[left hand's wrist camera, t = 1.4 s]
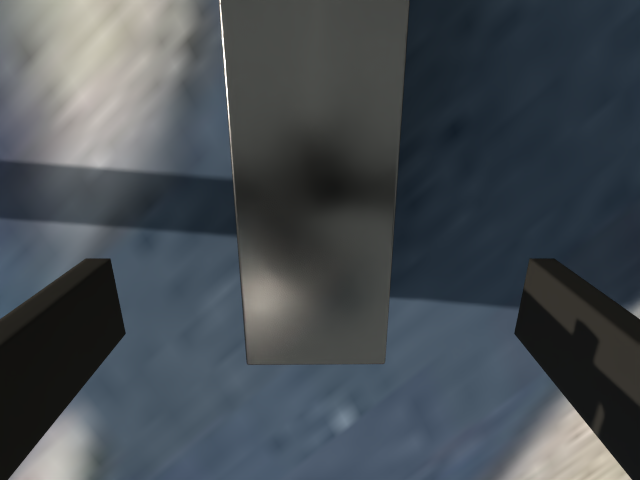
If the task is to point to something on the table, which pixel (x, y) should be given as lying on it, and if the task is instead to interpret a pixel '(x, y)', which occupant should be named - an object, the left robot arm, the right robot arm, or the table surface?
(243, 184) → the bar
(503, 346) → the table surface
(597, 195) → the table surface
